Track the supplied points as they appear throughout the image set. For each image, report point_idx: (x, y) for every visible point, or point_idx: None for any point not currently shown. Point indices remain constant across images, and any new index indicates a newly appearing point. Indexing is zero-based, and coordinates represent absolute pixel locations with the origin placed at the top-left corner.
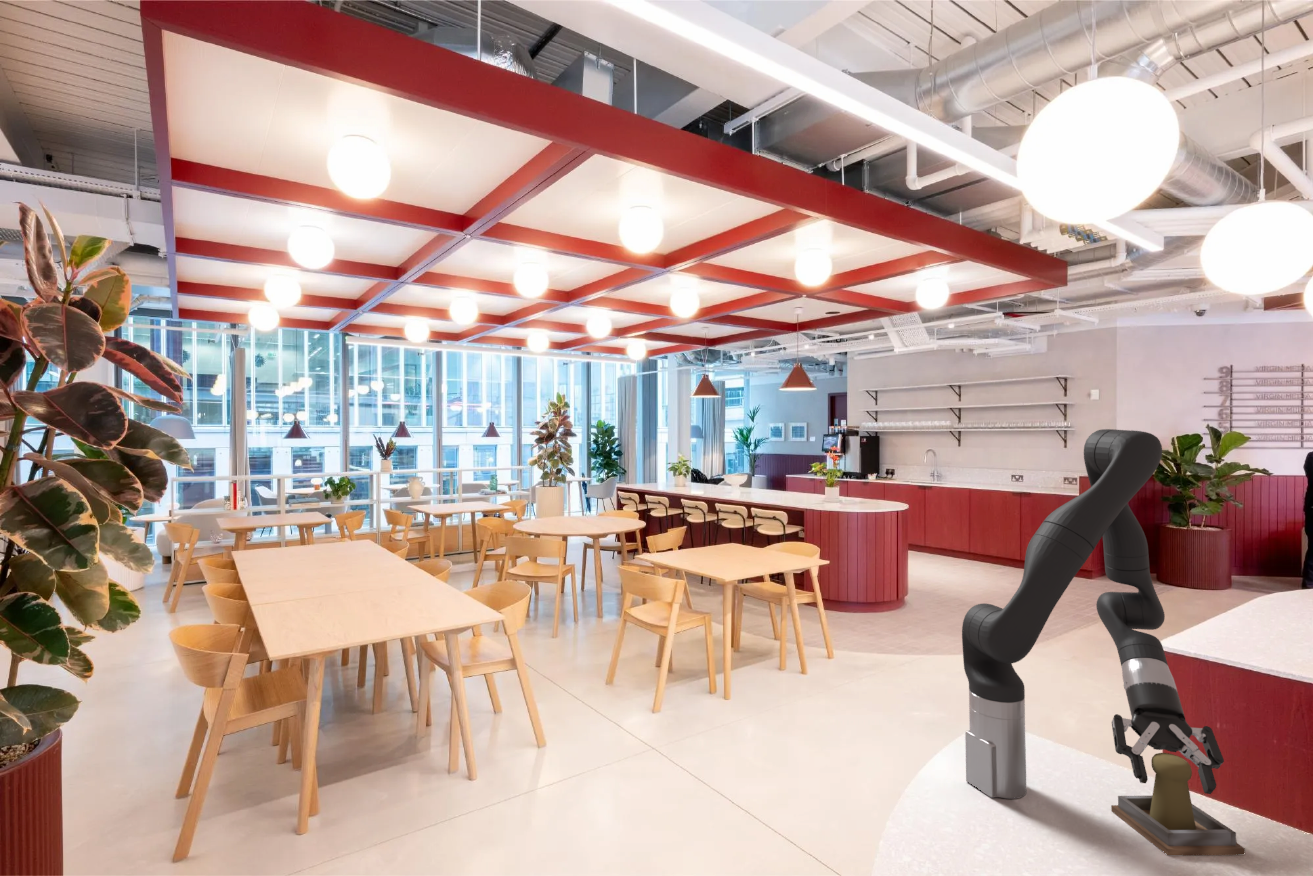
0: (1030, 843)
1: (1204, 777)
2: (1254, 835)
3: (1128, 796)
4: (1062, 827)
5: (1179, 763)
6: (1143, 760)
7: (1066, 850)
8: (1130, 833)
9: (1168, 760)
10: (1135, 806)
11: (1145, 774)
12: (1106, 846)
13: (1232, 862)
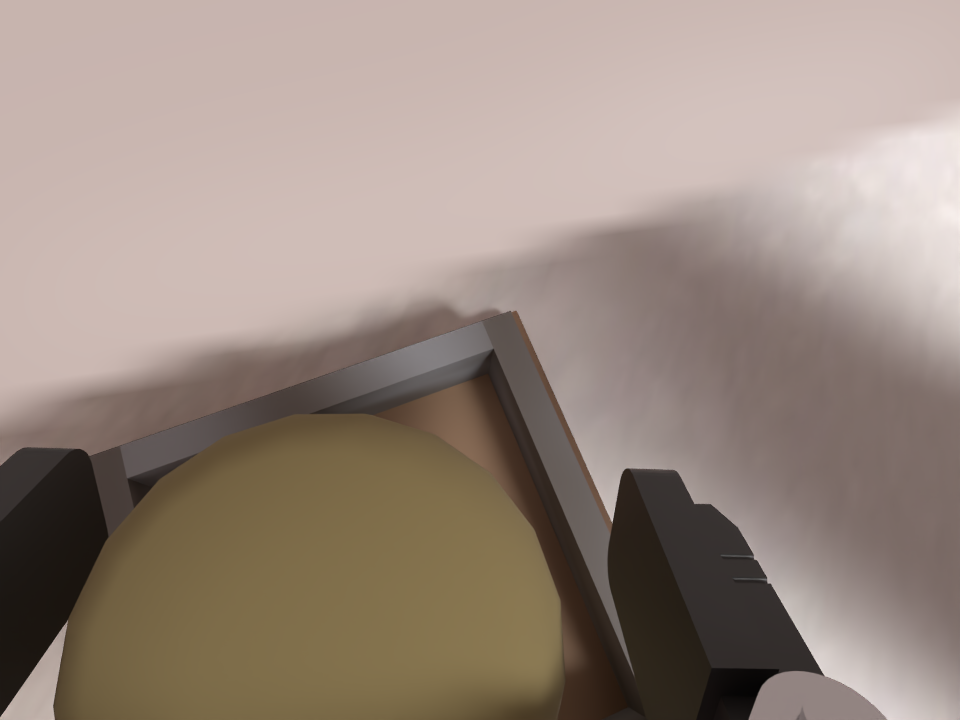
0: None
1: (7, 529)
2: None
3: None
4: (954, 418)
5: (258, 472)
6: (690, 608)
7: (928, 225)
8: None
9: (395, 506)
10: (614, 605)
11: (650, 485)
12: (767, 313)
13: (221, 369)
